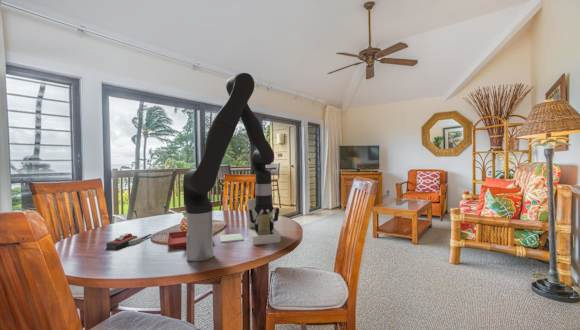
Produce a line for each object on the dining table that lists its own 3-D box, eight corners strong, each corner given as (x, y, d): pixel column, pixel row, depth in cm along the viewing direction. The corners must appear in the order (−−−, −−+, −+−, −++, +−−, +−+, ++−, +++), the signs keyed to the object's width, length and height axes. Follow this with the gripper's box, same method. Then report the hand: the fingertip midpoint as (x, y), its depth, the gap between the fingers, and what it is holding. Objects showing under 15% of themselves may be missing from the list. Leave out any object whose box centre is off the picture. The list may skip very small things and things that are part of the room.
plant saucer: (213, 245, 117) (212, 238, 117) (166, 252, 110) (166, 243, 110) (208, 235, 134) (208, 228, 134) (168, 239, 127) (168, 232, 127)
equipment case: (253, 245, 116) (252, 203, 116) (248, 235, 130) (247, 199, 130) (280, 242, 119) (279, 202, 119) (272, 233, 133) (272, 197, 133)
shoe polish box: (270, 238, 125) (269, 212, 125) (269, 241, 120) (269, 214, 120) (259, 238, 125) (258, 212, 125) (258, 242, 120) (258, 214, 120)
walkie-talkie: (121, 251, 112) (153, 237, 131) (121, 240, 112) (153, 228, 131) (102, 250, 113) (136, 237, 133) (102, 240, 113) (136, 228, 133)
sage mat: (220, 242, 120) (220, 241, 120) (219, 236, 130) (219, 235, 130) (243, 240, 123) (243, 239, 123) (240, 234, 132) (240, 233, 132)
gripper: (248, 195, 116) (249, 235, 117) (281, 193, 121) (282, 232, 121) (246, 193, 124) (247, 230, 124) (277, 192, 128) (277, 228, 128)
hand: (264, 231), depth 122 cm, fingers closed on shoe polish box, 5 cm apart
